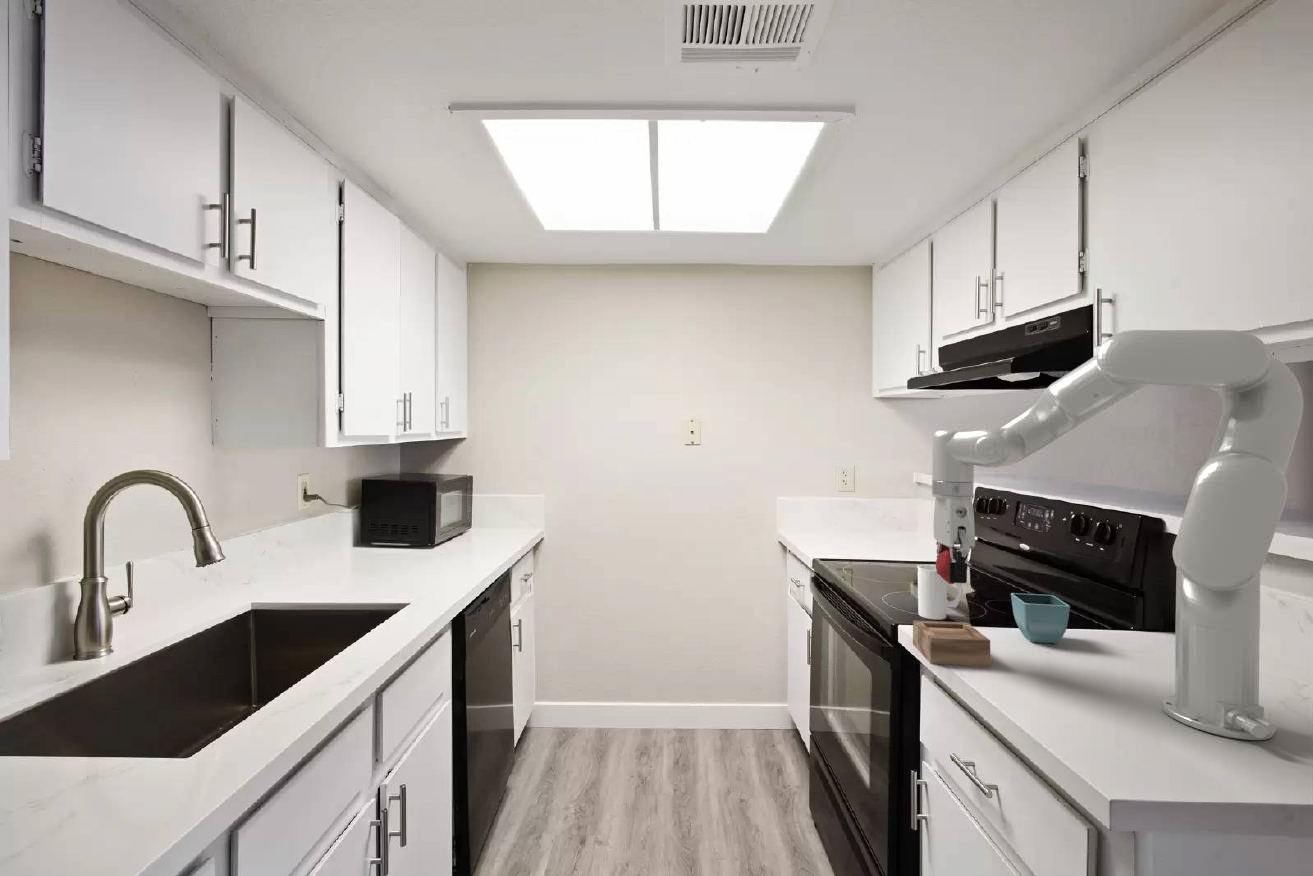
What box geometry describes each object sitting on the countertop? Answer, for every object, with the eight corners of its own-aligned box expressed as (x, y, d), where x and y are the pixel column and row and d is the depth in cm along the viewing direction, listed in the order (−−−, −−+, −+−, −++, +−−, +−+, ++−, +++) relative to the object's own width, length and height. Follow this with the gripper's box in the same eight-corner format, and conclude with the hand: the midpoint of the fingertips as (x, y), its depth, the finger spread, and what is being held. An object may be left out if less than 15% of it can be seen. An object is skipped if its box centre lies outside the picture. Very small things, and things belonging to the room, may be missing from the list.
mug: (916, 617, 144) (916, 568, 144) (918, 610, 150) (918, 563, 150) (962, 624, 139) (962, 573, 139) (962, 616, 145) (962, 568, 145)
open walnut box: (990, 666, 113) (990, 640, 113) (930, 663, 114) (930, 638, 114) (966, 646, 124) (967, 622, 124) (912, 643, 125) (913, 620, 125)
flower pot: (1024, 645, 125) (1024, 603, 125) (1009, 631, 134) (1009, 592, 134) (1070, 648, 123) (1071, 606, 123) (1053, 634, 132) (1053, 595, 132)
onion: (971, 588, 116) (971, 548, 116) (939, 587, 117) (940, 547, 117) (962, 581, 121) (962, 543, 121) (932, 579, 123) (932, 541, 123)
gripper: (990, 494, 110) (989, 590, 110) (955, 486, 127) (954, 569, 127) (948, 494, 111) (947, 588, 111) (919, 486, 128) (918, 568, 128)
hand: (951, 577), depth 119 cm, fingers closed on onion, 5 cm apart
